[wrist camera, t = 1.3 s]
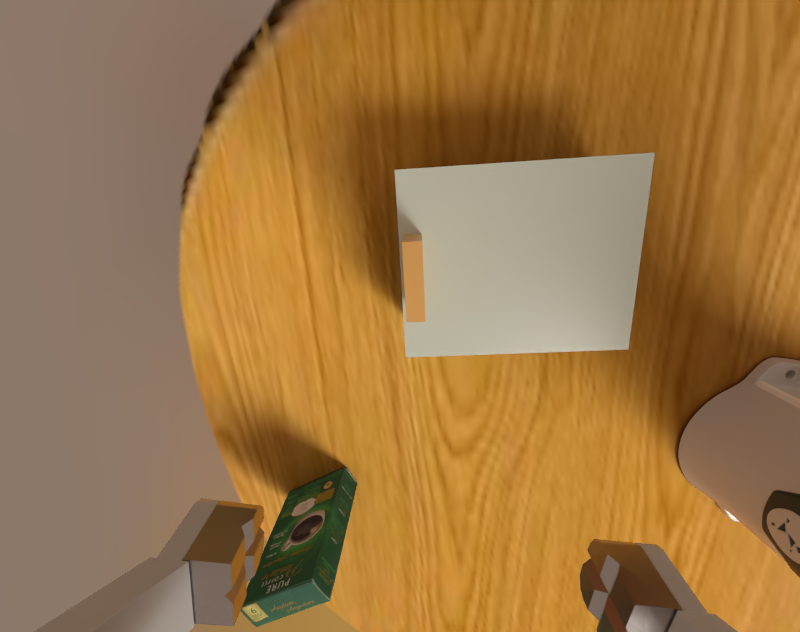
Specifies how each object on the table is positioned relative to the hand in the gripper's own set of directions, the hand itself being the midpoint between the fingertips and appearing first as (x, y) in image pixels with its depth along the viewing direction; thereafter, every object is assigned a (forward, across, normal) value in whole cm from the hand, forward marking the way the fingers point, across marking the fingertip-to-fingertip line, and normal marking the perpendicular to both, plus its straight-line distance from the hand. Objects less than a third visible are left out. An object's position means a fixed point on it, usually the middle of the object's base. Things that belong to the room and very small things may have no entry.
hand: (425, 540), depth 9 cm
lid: (+20, -7, -4) cm, 22 cm away
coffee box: (+28, +8, +25) cm, 38 cm away
